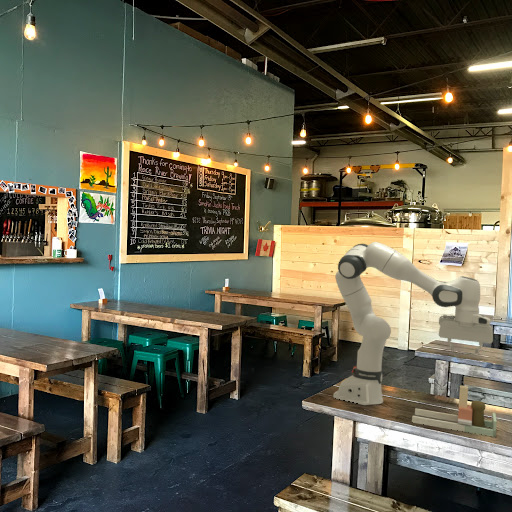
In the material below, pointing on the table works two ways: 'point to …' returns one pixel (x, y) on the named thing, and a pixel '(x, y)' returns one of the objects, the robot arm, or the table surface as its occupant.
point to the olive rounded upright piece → (478, 414)
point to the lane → (451, 425)
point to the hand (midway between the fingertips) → (464, 351)
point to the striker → (464, 407)
